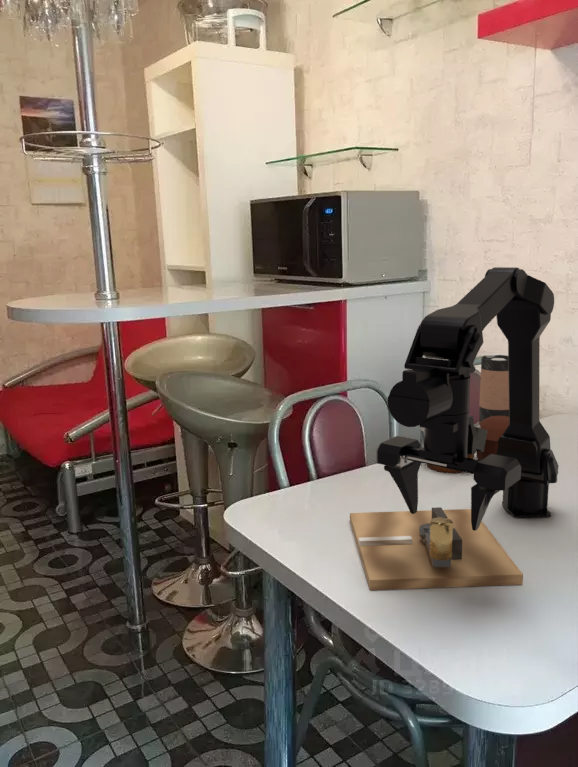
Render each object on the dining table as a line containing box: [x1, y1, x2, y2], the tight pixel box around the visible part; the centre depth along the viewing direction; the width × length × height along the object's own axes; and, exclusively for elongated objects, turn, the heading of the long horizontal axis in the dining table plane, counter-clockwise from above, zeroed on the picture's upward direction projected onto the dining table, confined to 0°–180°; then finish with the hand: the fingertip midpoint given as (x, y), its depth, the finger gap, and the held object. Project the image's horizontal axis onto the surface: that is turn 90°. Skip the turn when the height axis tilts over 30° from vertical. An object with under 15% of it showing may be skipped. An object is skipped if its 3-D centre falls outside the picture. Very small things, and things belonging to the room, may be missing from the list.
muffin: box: [475, 416, 509, 460], centre depth 140 cm, size 12×11×10 cm
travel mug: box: [478, 354, 509, 423], centre depth 153 cm, size 8×8×20 cm
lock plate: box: [349, 506, 524, 591], centre depth 102 cm, size 21×23×4 cm
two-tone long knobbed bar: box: [419, 517, 453, 567], centre depth 97 cm, size 12×4×6 cm, turn 176°
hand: (443, 521), depth 91 cm, fingers open, 9 cm apart
